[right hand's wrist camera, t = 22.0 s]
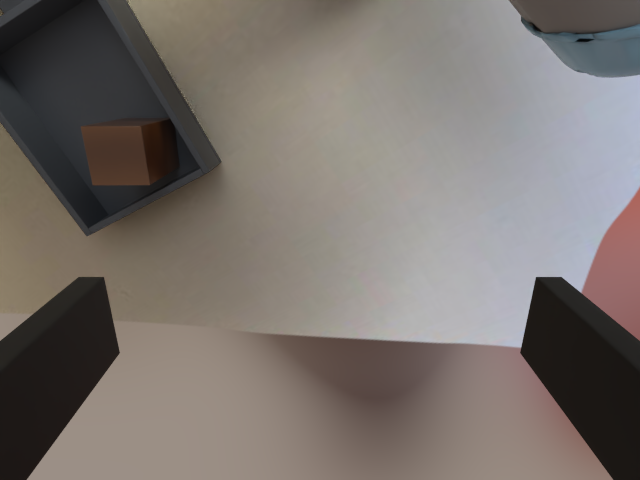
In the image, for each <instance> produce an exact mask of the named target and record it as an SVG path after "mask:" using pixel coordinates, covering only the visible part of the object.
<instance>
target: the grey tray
mask: <svg viewBox="0 0 640 480" xmlns="http://www.w3.org/2000/svg"><path fill="white" fill-rule="evenodd" d="M0 9H1V10H2V11H3V13H4V14H3V15H2V16H0V122H1V124H2V125H3V126H4V128H5V129H6V130H7V132H8V133H9V134H10V136H11V137H12V138H13V140H14V141H15V142H16V144H17V145H18V146H19V147H20V149H21V150H22V151H23V153H24V154H25V155H26V157H27V158H28V159H29V161H30V162H31V163H32V165H33V166H34V167H35V169H36V170H37V171H38V173H39V174H40V175H41V176H42V178H43V179H44V180H45V182H46V183H47V184H48V186H49V187H50V188H51V190H52V191H53V192H54V194H55V195H56V196H57V198H58V199H59V200H60V202H61V203H62V204H63V206H64V207H65V208H66V209H67V211H68V212H69V213H70V215H71V216H72V217H73V219H74V220H75V221H76V223H77V224H78V225H79V227H80V228H81V229H82V231H83V232H84V233H85V235H86V236H89V235H91V234H93V233H95V232H96V231H98V230H100V229H102V228H104V227H106V226H108V225H110V224H112V223H113V222H115V221H117V220H119V219H121V218H123V217H125V216H127V215H129V214H131V213H132V212H134V211H136V210H138V209H140V208H142V207H144V206H146V205H148V204H149V203H151V202H153V201H155V200H157V199H159V198H161V197H163V196H165V195H166V194H168V193H170V192H172V191H174V190H176V189H178V188H180V187H182V186H183V185H185V184H187V183H189V182H191V181H193V180H195V179H197V178H199V177H201V176H202V175H204V174H206V173H208V172H210V171H211V170H212V169H213V168H215V167H216V166H217V165H218V164H219V163H221V160H220V158H219V157H218V155H217V153H216V152H215V150H214V148H213V146H212V145H211V143H210V141H209V140H208V138H207V136H206V135H205V133H204V131H203V130H202V128H201V126H200V124H199V123H198V121H197V119H196V118H195V116H194V114H193V113H192V111H191V109H190V108H189V106H188V104H187V102H186V101H185V99H184V97H183V96H182V94H181V92H180V91H179V89H178V87H177V86H176V84H175V82H174V81H173V79H172V77H171V75H170V74H169V72H168V70H167V69H166V67H165V65H164V64H163V62H162V60H161V59H160V57H159V55H158V53H157V52H156V50H155V48H154V47H153V45H152V43H151V42H150V40H149V38H148V37H147V35H146V33H145V32H144V30H143V28H142V26H141V25H140V23H139V21H138V20H137V18H136V16H135V15H134V13H133V11H132V10H131V8H130V6H129V4H128V3H127V1H126V0H0ZM122 118H170V119H171V121H172V123H173V124H174V126H175V133H176V141H177V149H178V156H179V164H180V167H178V168H177V169H175V170H173V171H172V172H170V173H169V174H167V175H165V176H164V177H162V178H160V179H159V180H157V181H156V182H154V183H152V184H151V185H93V184H92V180H91V175H90V170H89V165H88V160H87V155H86V150H85V146H84V141H83V136H82V131H81V126H85V125H91V124H96V123H101V122H106V121H111V120H117V119H122Z"/></svg>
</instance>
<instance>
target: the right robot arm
mask: <svg viewBox="0 0 640 480" xmlns="http://www.w3.org/2000/svg"><path fill="white" fill-rule="evenodd" d="M509 1H510V2H511V3H512V5H513V6H514V7H515V8H516V10H517V11H518V12H519V14H520V15H521V21H522V23H523V24H524V26H525V27H526V29H527V30H528V31H530V32H531V33H532V34H534V35H536V36H538V37H540V38H542V39H543V41H544V42H545V43H546V44H547V45H548V46H549V47H550V48H551V50H552V51H553V52H554V53H555V54H556V55H557V56H558V57H559V58H560V60H561V61H562V62H563V63H564V64H565V65H567V66H568V67H570V68H571V69H573V70H575V71H577V72H582V73H587V74H589V75H594V76H597V77H626V76H634V75H640V0H509ZM119 353H120V352H119V347H118V343H117V338H116V333H115V328H114V323H113V319H112V314H111V309H110V304H109V299H108V295H107V290H106V285H105V280H104V277H78V278H77V279H76V280H75V281H73V282H72V283H71V284H70V285H68V286H67V287H66V288H65V289H63V290H62V291H61V292H60V293H59V294H57V295H56V296H55V297H54V298H52V299H51V300H50V301H49V302H48V303H46V304H45V305H44V306H43V307H41V308H40V309H39V310H38V311H37V312H35V313H34V314H33V315H32V316H30V317H29V318H28V319H27V320H26V321H24V322H23V323H22V324H21V325H19V326H18V327H17V328H16V329H14V330H13V331H12V332H11V333H10V334H8V335H7V336H6V337H5V338H3V339H2V340H1V341H0V480H27V478H28V477H29V476H30V474H31V473H32V472H33V470H34V469H35V467H36V466H37V465H38V463H39V462H40V461H41V459H42V458H43V457H44V455H45V454H46V453H47V451H48V450H49V448H50V447H51V446H52V444H53V443H54V442H55V440H56V439H57V437H58V436H59V435H60V433H61V432H62V431H63V429H64V428H65V427H66V425H67V424H68V423H69V421H70V420H71V419H72V417H73V416H74V414H75V413H76V412H77V410H78V409H79V408H80V406H81V405H82V404H83V402H84V401H85V399H86V398H87V397H88V395H89V394H90V393H91V391H92V390H93V389H94V387H95V386H96V384H97V383H98V382H99V380H100V379H101V378H102V376H103V375H104V374H105V372H106V371H107V370H108V368H109V367H110V365H111V364H112V363H113V361H114V360H115V359H116V357H117V356H118V355H119ZM520 353H521V354H522V356H523V357H524V359H525V360H526V361H527V363H528V364H529V365H530V367H531V368H532V369H533V371H534V372H535V374H536V375H537V376H538V378H539V379H540V380H541V382H542V383H543V384H544V386H545V387H546V389H547V390H548V391H549V393H550V394H551V395H552V397H553V398H554V399H555V401H556V402H557V403H558V405H559V406H560V408H561V409H562V410H563V412H564V413H565V414H566V416H567V417H568V418H569V420H570V421H571V423H572V424H573V425H574V427H575V428H576V429H577V431H578V432H579V433H580V435H581V436H582V438H583V439H584V440H585V442H586V443H587V444H588V446H589V447H590V448H591V450H592V451H593V453H594V454H595V455H596V457H597V458H598V459H599V461H600V462H601V463H602V465H603V466H604V468H605V469H606V470H607V472H608V473H609V474H610V476H611V477H612V478H613V480H640V341H639V340H638V339H637V338H635V337H634V336H633V335H632V334H630V333H629V332H628V331H627V330H625V329H624V328H623V327H622V326H621V325H619V324H618V323H617V322H616V321H615V320H613V319H612V318H611V317H610V316H608V315H607V314H606V313H605V312H603V311H602V310H601V309H600V308H599V307H597V306H596V305H595V304H594V303H592V302H591V301H590V300H589V299H588V298H586V297H585V296H584V295H583V294H581V293H580V292H579V291H578V290H577V289H575V288H574V287H573V286H572V285H570V284H569V283H568V282H567V281H565V280H564V279H563V278H562V277H536V280H535V285H534V290H533V295H532V299H531V304H530V309H529V314H528V319H527V323H526V328H525V333H524V338H523V342H522V347H521V352H520Z"/></svg>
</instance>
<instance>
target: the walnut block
mask: <svg viewBox="0 0 640 480" xmlns="http://www.w3.org/2000/svg"><path fill="white" fill-rule="evenodd" d="M81 131H82V136H83V141H84V146H85V150H86V155H87V160H88V165H89V170H90V175H91V180H92V184H93V185H151V184H152V183H154V182H156V181H157V180H159V179H160V178H162V177H164V176H165V175H167V174H169V173H170V172H172V171H173V170H175V169H177V168H178V167H180V164H179V156H178V149H177V141H176V133H175V126H174V124H173V123H172V121H171V119H170V118H122V119H117V120H111V121H106V122H101V123H96V124H91V125H85V126H81Z"/></svg>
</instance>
